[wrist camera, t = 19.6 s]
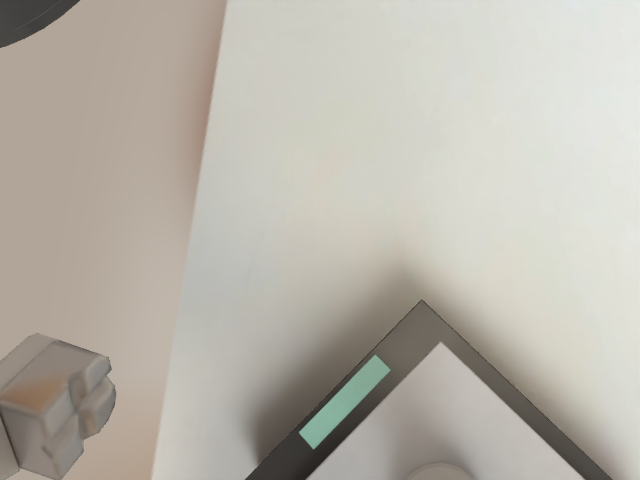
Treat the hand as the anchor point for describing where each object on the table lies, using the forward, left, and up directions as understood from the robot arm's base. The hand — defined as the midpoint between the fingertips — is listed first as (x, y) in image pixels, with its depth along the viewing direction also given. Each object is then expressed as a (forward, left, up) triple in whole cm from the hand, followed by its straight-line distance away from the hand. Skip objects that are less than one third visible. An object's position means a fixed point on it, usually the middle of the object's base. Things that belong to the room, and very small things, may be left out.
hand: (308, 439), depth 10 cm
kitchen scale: (+4, -4, -24) cm, 25 cm away
